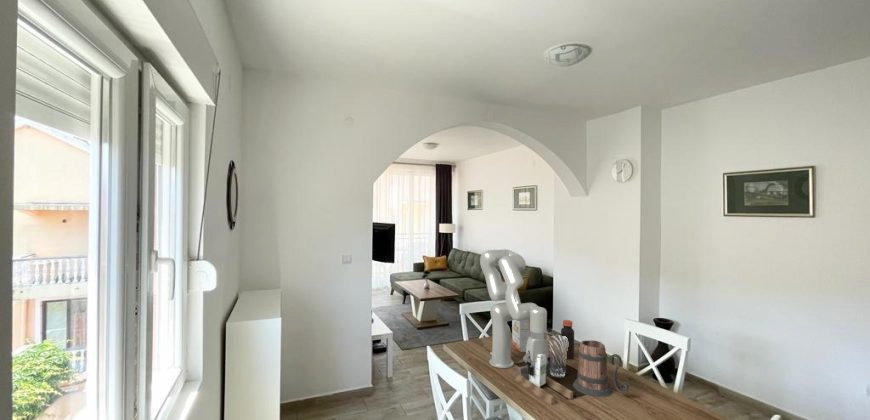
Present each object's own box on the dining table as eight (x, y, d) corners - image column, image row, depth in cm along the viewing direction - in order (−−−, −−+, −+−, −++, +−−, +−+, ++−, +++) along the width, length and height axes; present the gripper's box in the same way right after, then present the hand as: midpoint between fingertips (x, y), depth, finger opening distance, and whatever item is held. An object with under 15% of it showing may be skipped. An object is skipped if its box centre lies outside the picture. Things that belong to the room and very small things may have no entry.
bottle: (563, 354, 204) (563, 318, 204) (575, 357, 200) (575, 320, 200) (559, 357, 199) (559, 321, 199) (571, 361, 194) (571, 323, 195)
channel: (515, 380, 172) (515, 367, 172) (535, 375, 176) (535, 363, 177) (551, 404, 150) (551, 390, 150) (573, 398, 155) (573, 384, 155)
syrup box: (535, 379, 170) (535, 348, 170) (546, 383, 166) (546, 352, 166) (528, 383, 166) (528, 351, 166) (540, 387, 162) (540, 355, 162)
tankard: (566, 387, 164) (566, 343, 165) (581, 376, 177) (581, 334, 177) (622, 407, 148) (622, 358, 148) (634, 392, 160) (634, 347, 161)
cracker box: (511, 344, 220) (511, 309, 220) (521, 343, 220) (521, 309, 221) (519, 352, 206) (519, 316, 206) (529, 352, 206) (529, 315, 207)
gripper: (547, 329, 173) (546, 366, 173) (517, 334, 166) (517, 373, 166) (558, 334, 166) (558, 373, 166) (527, 340, 159) (527, 380, 159)
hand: (537, 372), depth 166 cm, fingers closed on syrup box, 7 cm apart
